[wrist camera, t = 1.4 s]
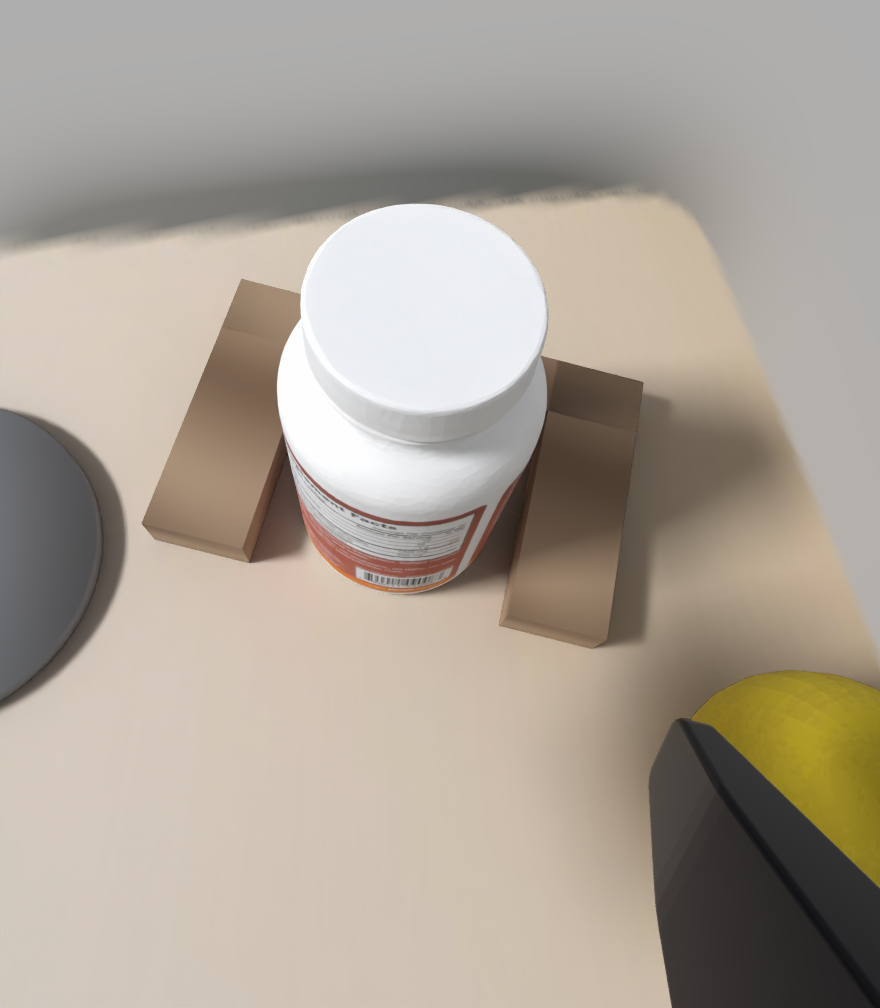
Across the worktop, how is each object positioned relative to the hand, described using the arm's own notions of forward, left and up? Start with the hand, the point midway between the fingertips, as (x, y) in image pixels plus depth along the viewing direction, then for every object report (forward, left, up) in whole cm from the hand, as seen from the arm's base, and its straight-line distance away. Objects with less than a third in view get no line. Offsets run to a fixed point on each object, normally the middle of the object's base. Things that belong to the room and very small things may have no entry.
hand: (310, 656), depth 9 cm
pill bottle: (+6, -4, -13) cm, 15 cm away
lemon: (-5, -11, -13) cm, 18 cm away
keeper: (+7, -4, -13) cm, 16 cm away
